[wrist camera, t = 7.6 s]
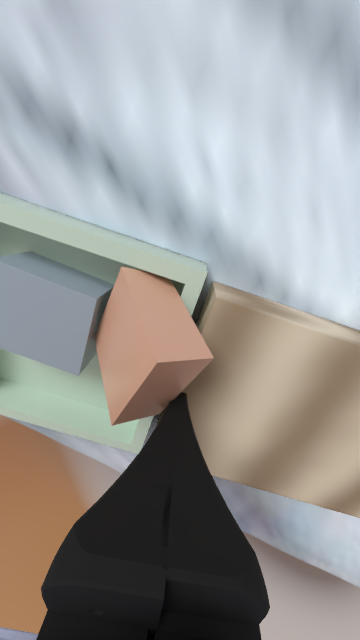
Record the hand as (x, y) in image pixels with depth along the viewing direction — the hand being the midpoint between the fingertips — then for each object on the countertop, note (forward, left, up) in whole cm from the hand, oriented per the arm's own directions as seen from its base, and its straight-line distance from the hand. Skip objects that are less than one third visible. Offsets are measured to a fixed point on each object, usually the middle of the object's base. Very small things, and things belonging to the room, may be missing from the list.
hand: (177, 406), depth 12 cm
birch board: (-8, 0, -4) cm, 9 cm away
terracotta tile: (+2, -3, -1) cm, 3 cm away
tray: (+7, 0, -4) cm, 8 cm away
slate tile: (+8, -2, -1) cm, 8 cm away
